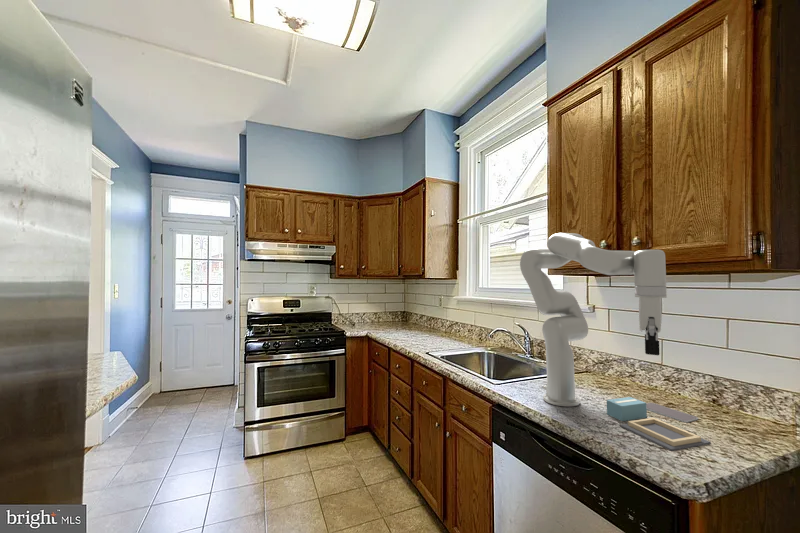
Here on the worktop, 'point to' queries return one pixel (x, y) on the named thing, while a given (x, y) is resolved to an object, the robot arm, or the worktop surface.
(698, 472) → the worktop surface
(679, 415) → the smartphone
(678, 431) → the mat
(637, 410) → the card box
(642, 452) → the worktop surface
